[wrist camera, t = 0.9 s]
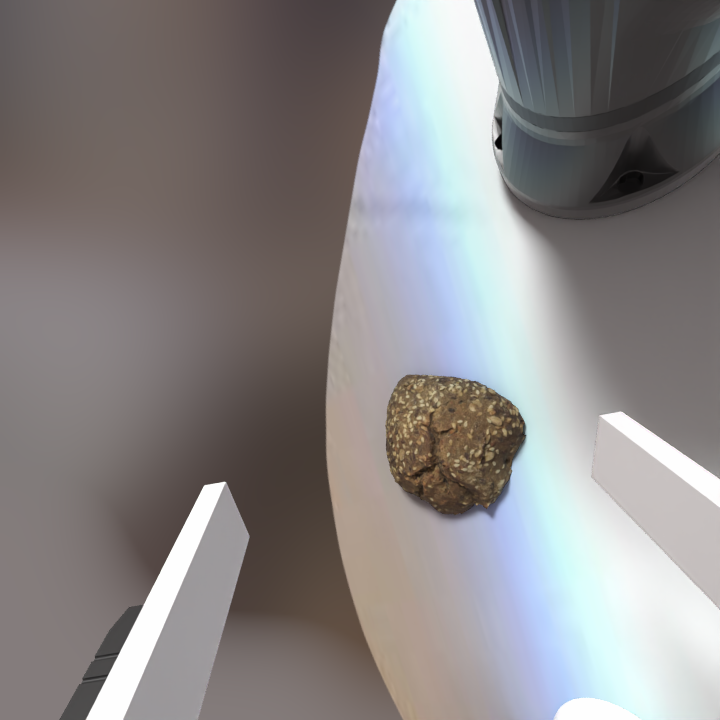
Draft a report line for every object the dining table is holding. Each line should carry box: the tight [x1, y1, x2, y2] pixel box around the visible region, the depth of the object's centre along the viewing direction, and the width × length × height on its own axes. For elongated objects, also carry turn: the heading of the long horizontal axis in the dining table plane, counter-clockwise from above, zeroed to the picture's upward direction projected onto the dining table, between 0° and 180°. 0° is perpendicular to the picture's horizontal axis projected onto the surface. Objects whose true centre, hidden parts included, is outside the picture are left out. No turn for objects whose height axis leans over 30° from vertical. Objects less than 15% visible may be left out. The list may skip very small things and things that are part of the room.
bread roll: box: [385, 375, 526, 515], centre depth 30 cm, size 13×12×5 cm
